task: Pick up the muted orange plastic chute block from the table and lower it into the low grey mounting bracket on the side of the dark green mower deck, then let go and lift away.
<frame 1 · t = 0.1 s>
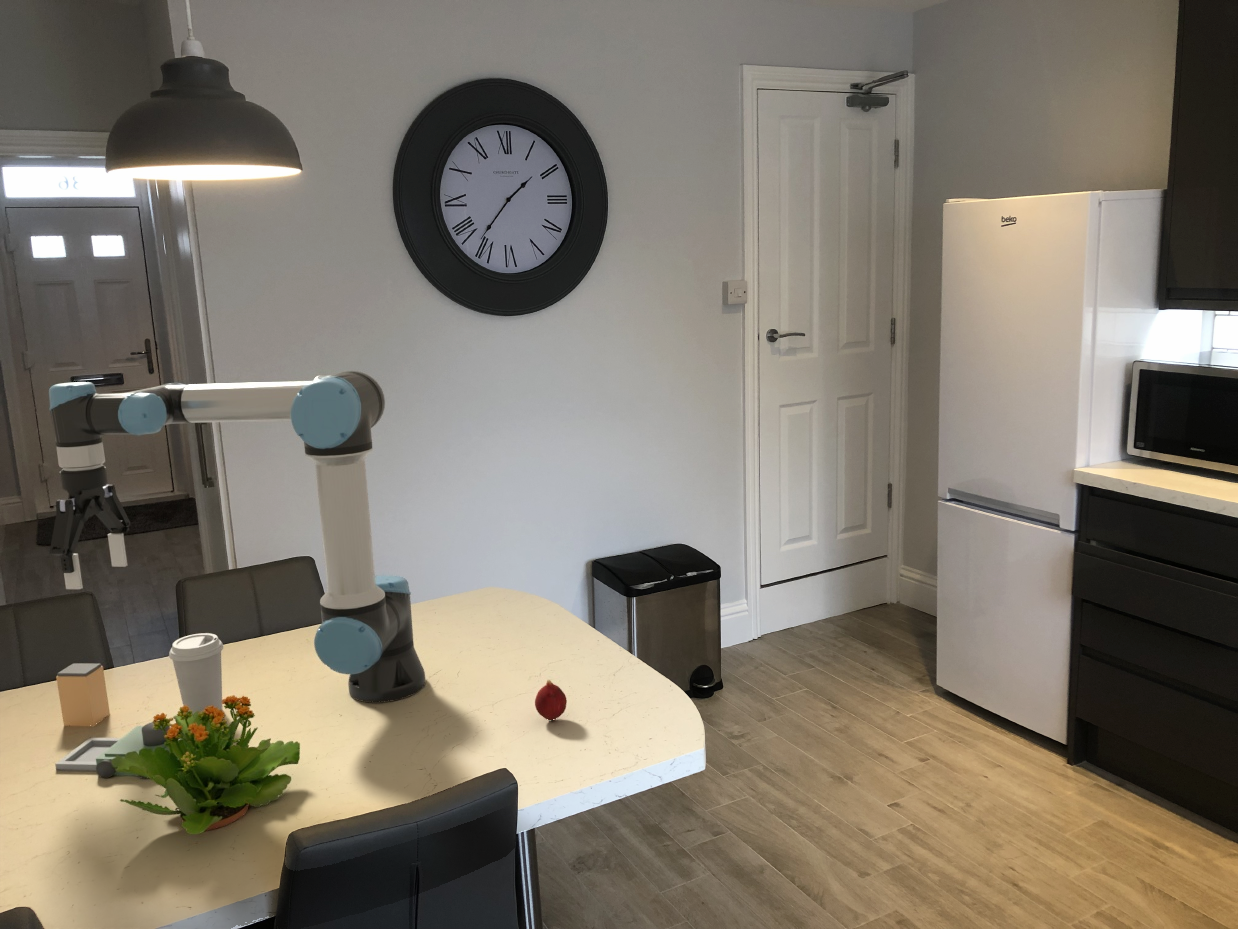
hand: (97, 577, 179), 28 cm above the table, tool pointing down, fingers open, 13 cm apart
potted flower: (210, 818, 148), on the table
onion: (551, 721, 176), on the table
coffee cup: (204, 715, 183), on the table
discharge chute: (87, 720, 183), on the table
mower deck: (149, 758, 167), on the table
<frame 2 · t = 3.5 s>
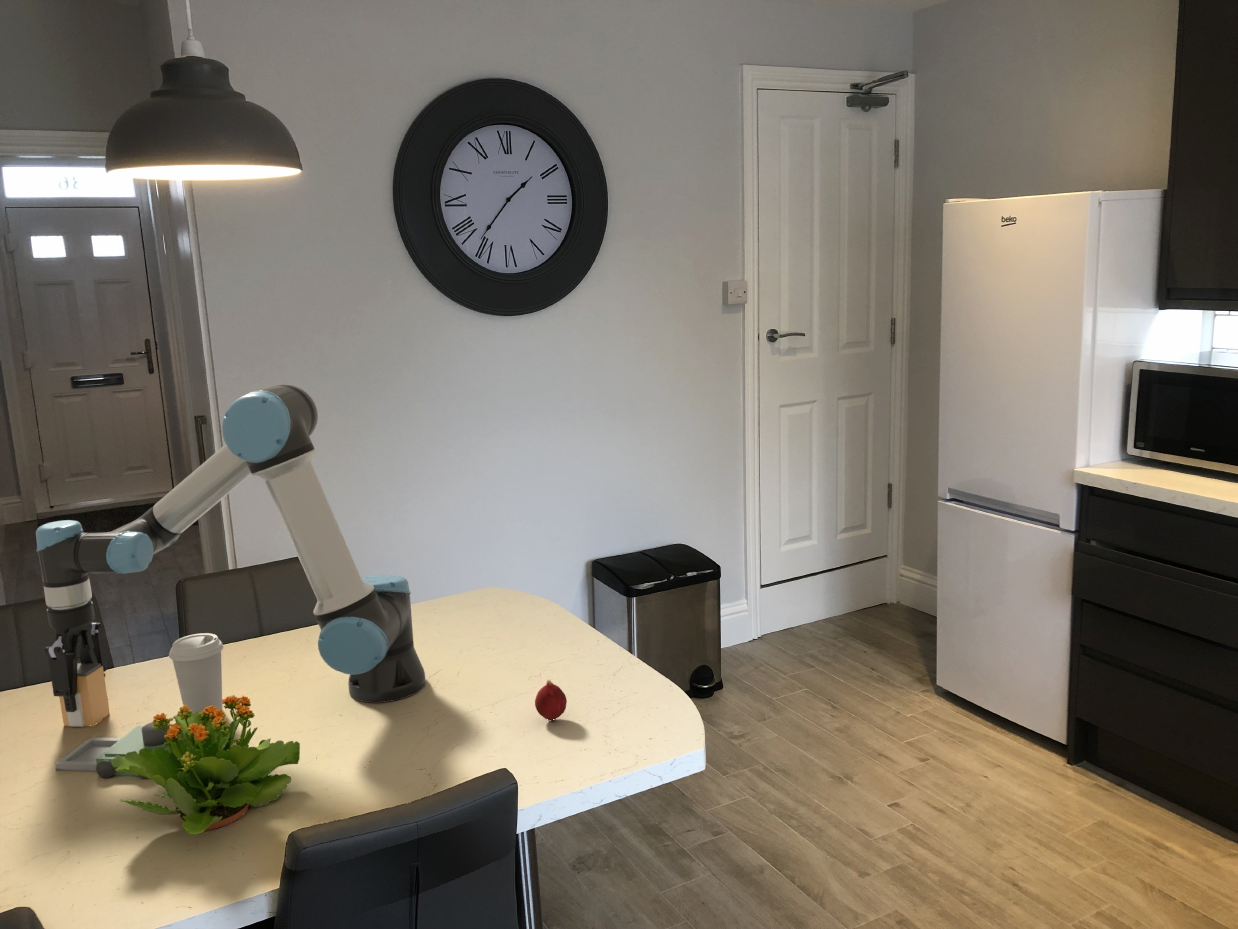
hand: (86, 718, 183), 0 cm above the table, tool pointing down, fingers closed on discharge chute, 5 cm apart
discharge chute: (87, 720, 183), on the table, touching gripper
everything else where it was.
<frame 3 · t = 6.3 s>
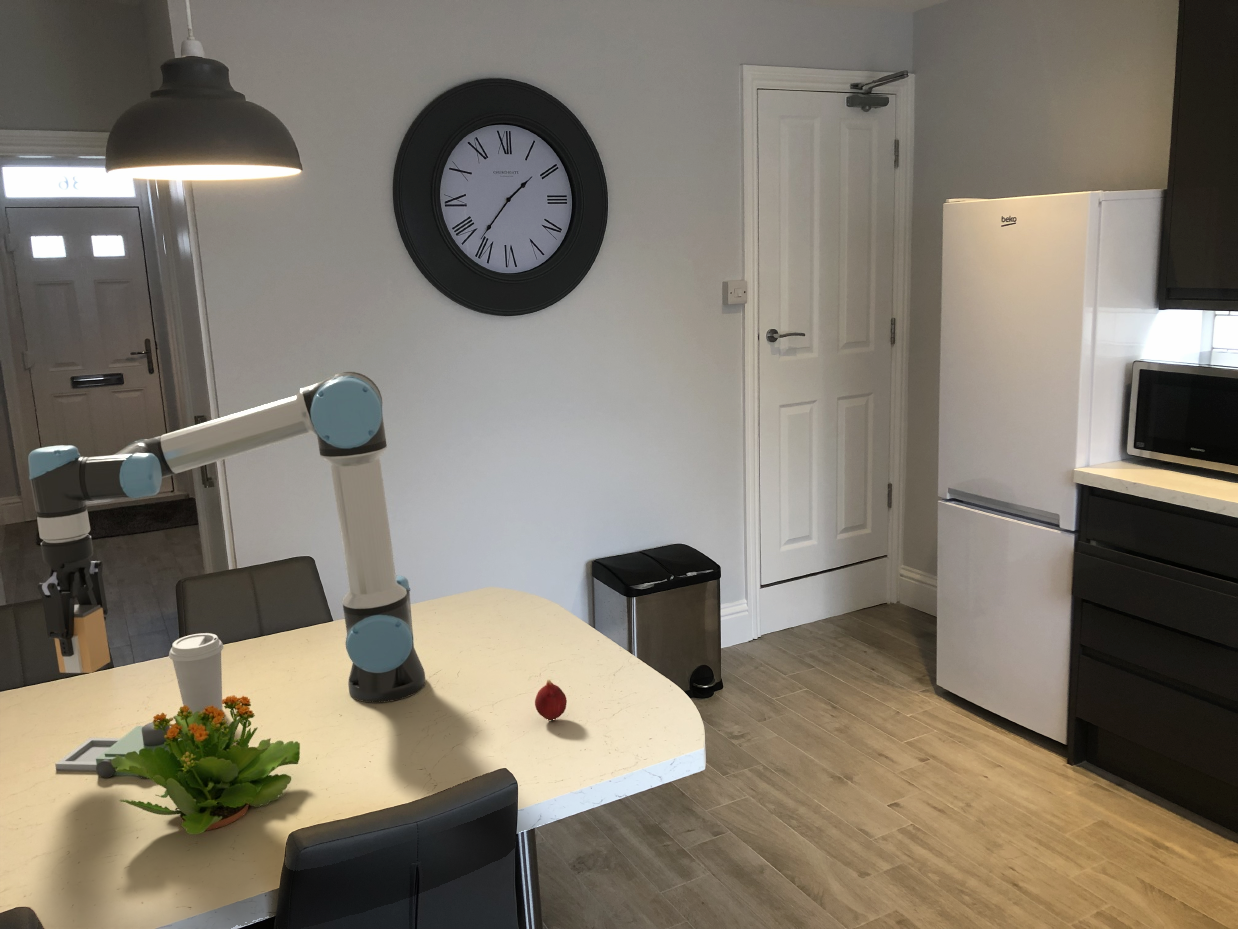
hand: (85, 665, 166), 17 cm above the table, tool pointing down, fingers closed on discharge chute, 5 cm apart
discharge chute: (85, 666, 166), point 16 cm above the table, touching gripper
everything else where it was.
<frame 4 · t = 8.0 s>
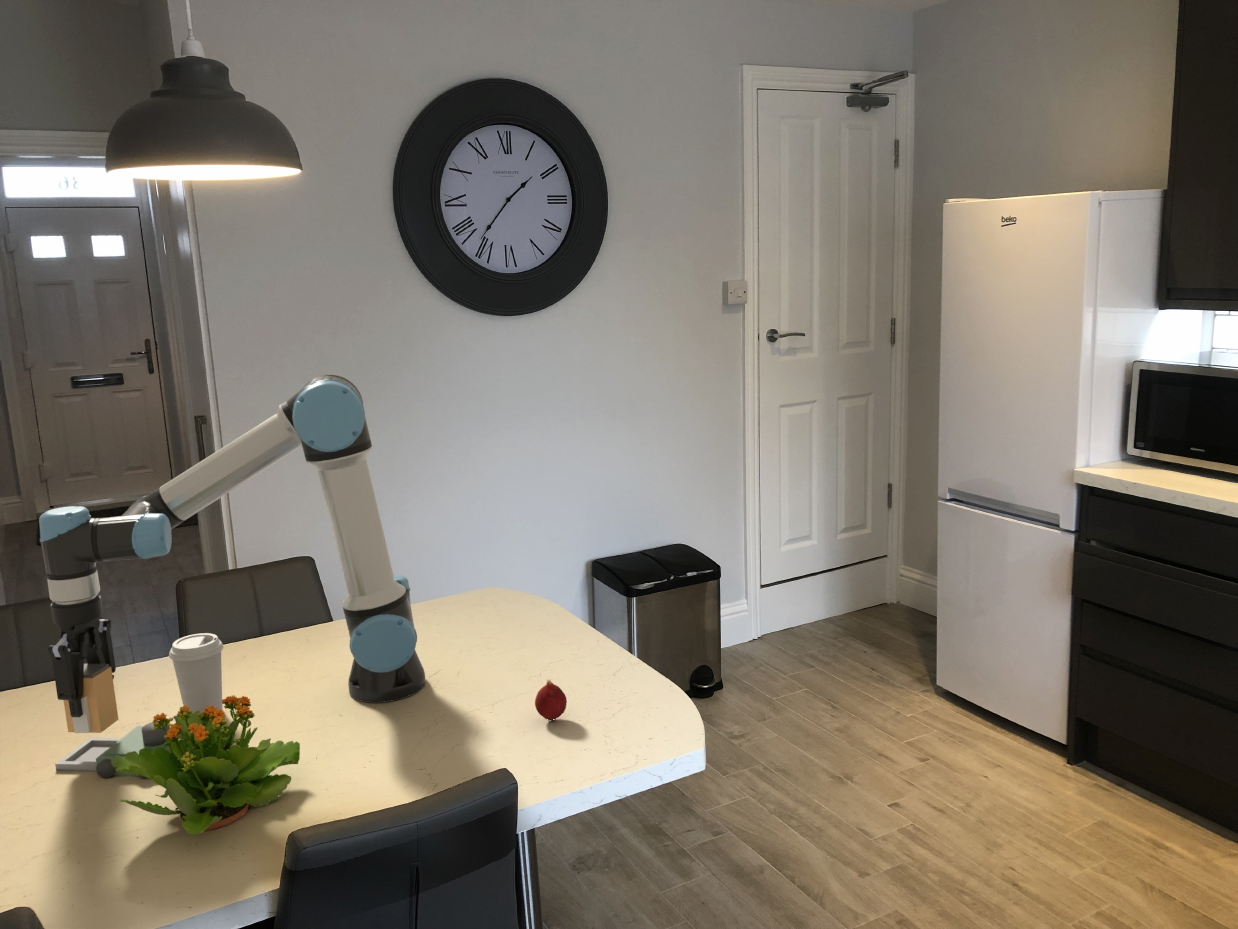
hand: (93, 724, 167), 6 cm above the table, tool pointing down, fingers closed on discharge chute, 5 cm apart
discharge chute: (93, 725, 167), point 6 cm above the table, touching gripper
everything else where it was.
when the fingers open (2 cm above the table, at t = 9.5 s): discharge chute drops 2 cm, resting on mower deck.
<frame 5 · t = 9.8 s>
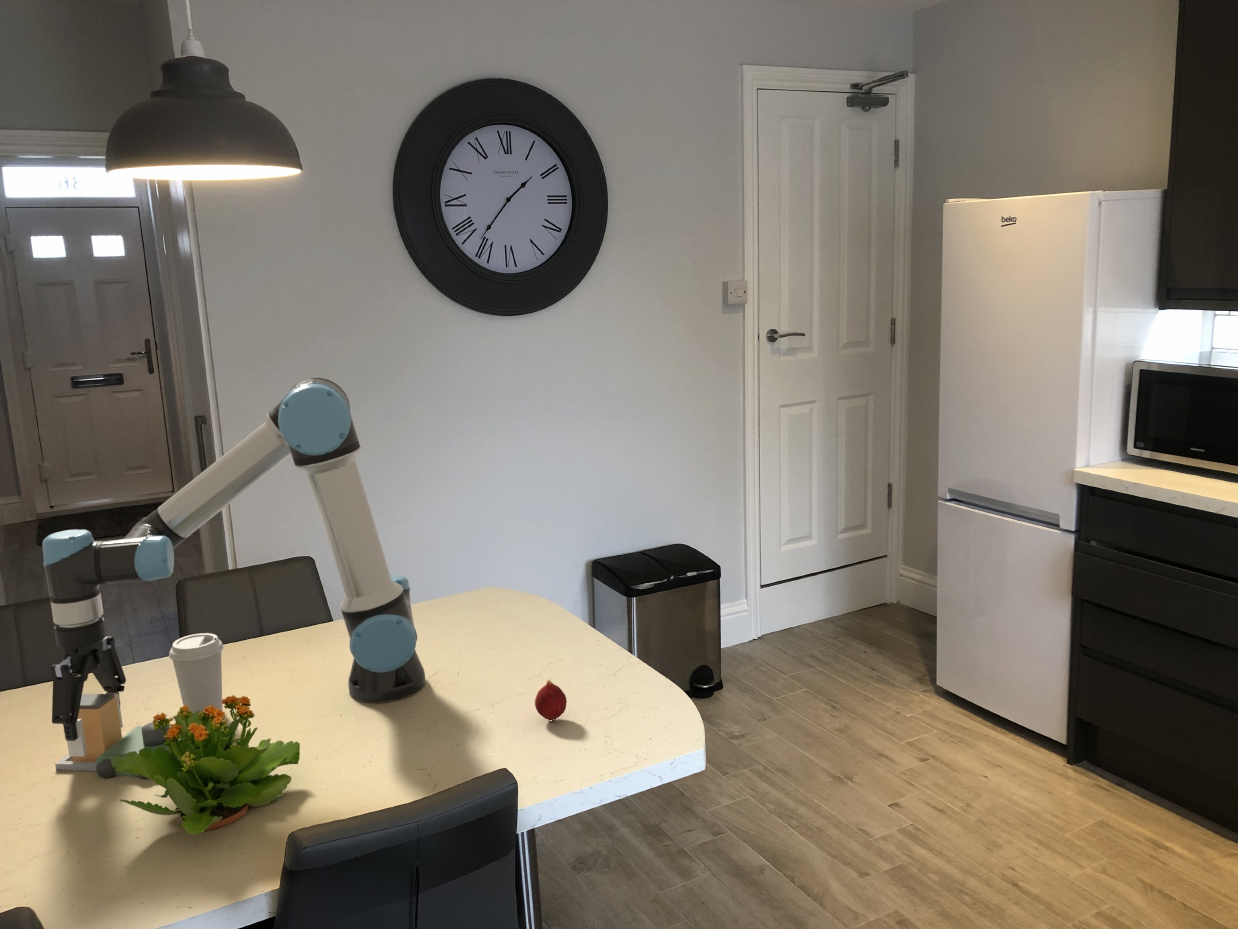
hand: (96, 741, 167), 3 cm above the table, tool pointing down, fingers open, 9 cm apart
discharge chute: (99, 755, 168), resting on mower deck
everything else where it was.
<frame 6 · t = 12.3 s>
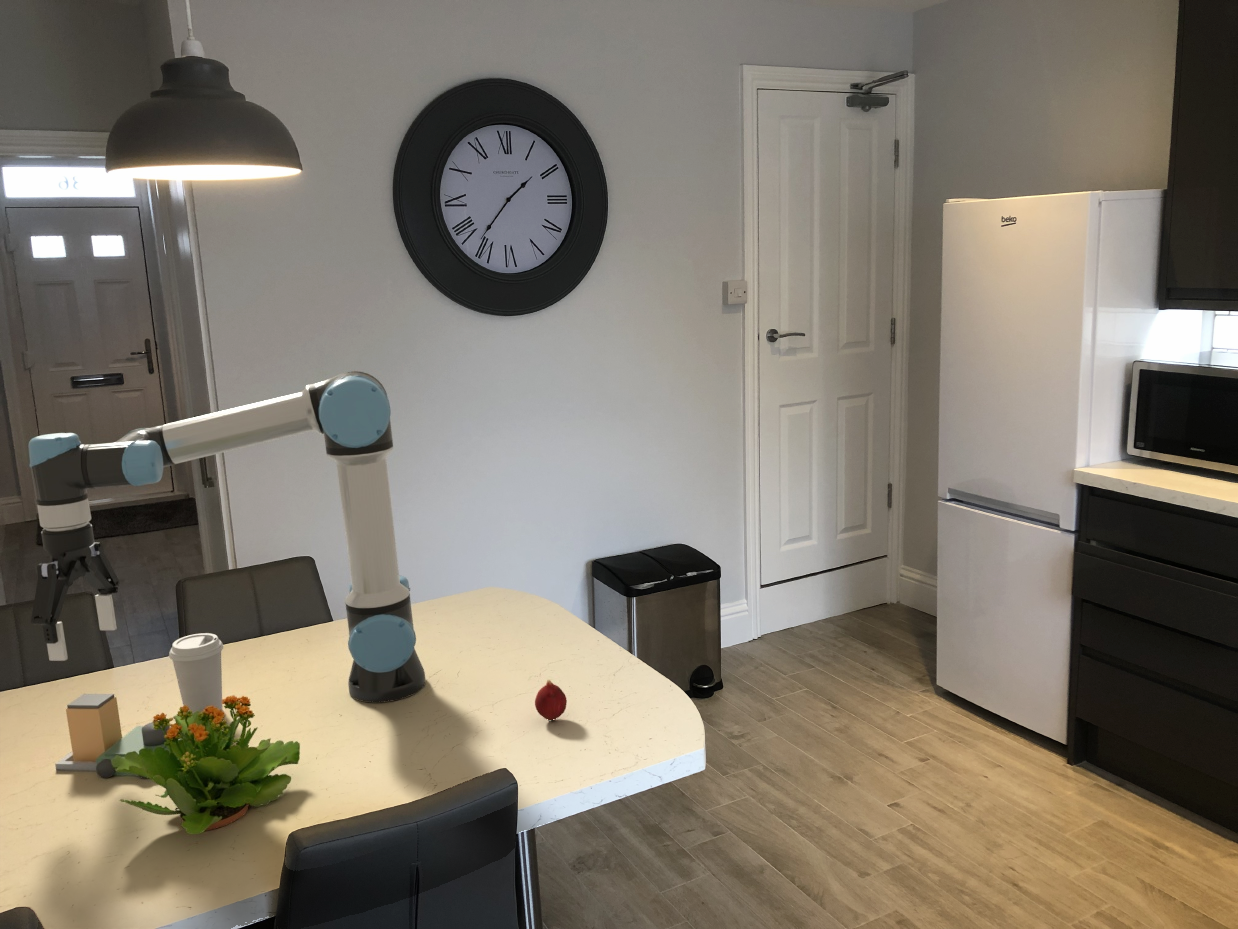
hand: (84, 644, 164), 21 cm above the table, tool pointing down, fingers open, 13 cm apart
nothing on the table moved.
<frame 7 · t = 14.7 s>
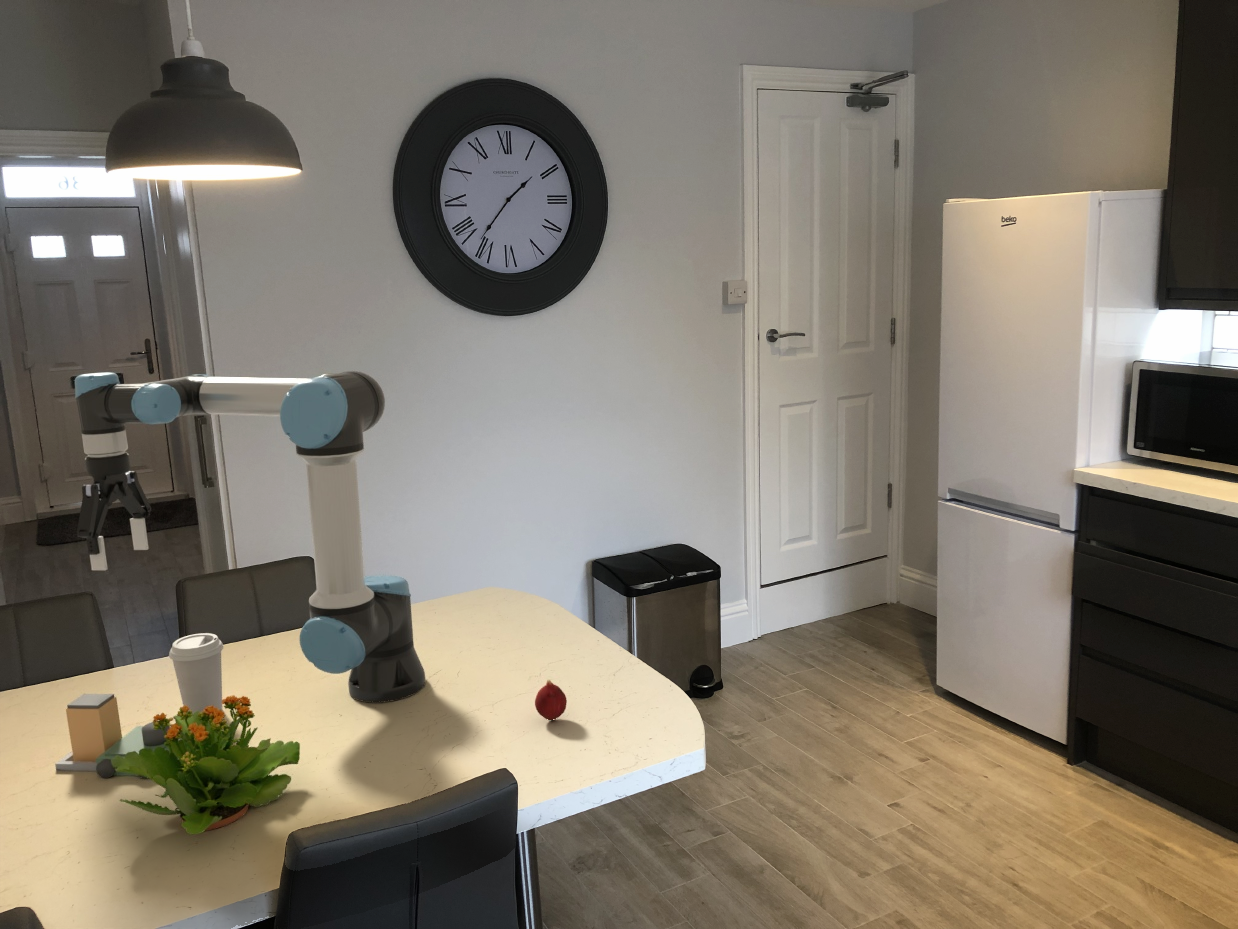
hand: (121, 559, 187), 29 cm above the table, tool pointing down, fingers open, 13 cm apart
nothing on the table moved.
at the end: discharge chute 0.1 cm from the target spot on the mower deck, point 0.3 cm above the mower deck's base; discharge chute tilted 0°; the gripper is holding nothing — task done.
